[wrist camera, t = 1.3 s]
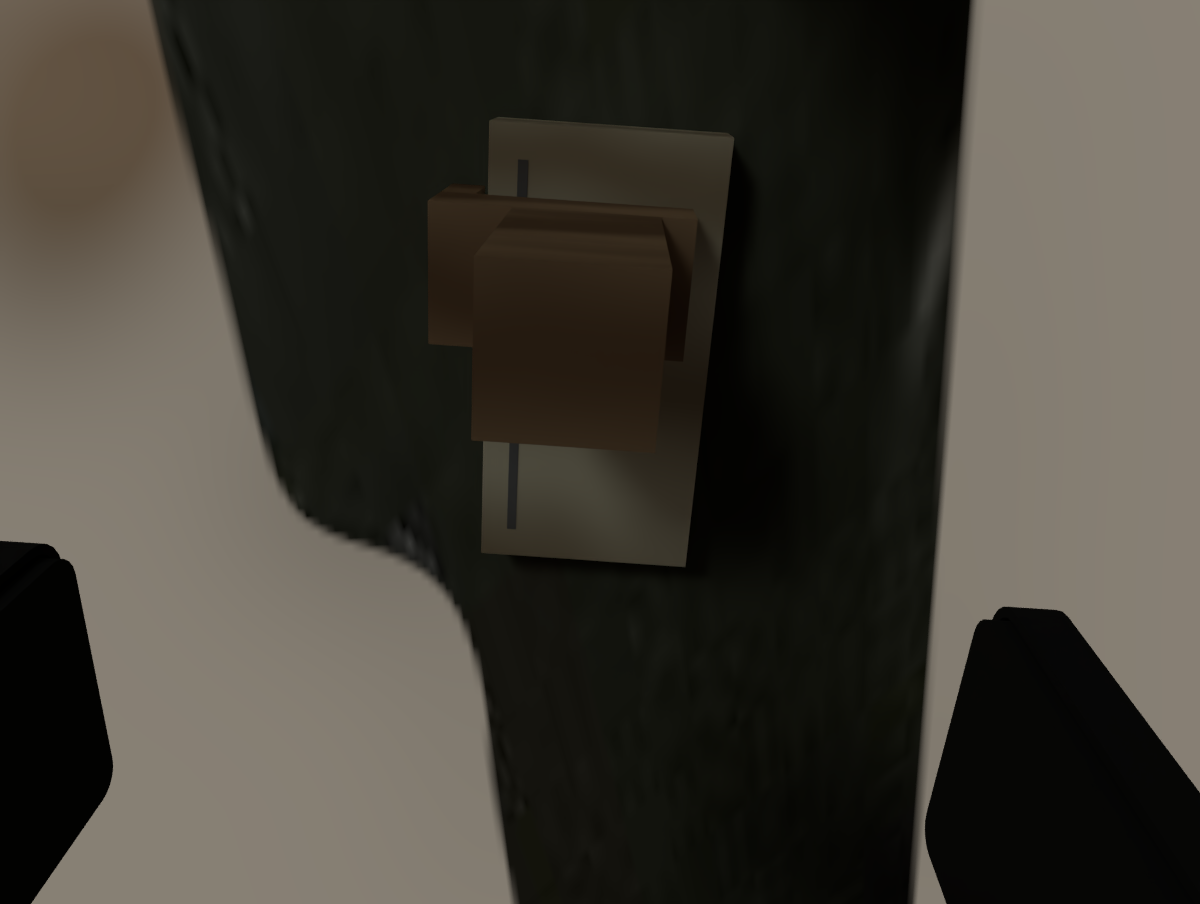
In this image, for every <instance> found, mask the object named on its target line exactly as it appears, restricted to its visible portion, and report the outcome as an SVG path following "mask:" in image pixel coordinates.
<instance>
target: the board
mask: <svg viewBox="0 0 1200 904" xmlns="http://www.w3.org/2000/svg"><path fill="white" fill-rule="evenodd" d="M733 145H734V137H732V136H731V135H729V134H728V133H719V132H705V131H690V130H676V129H662V128H648V127H633V126H619V125H605V124H591V123H577V122H562V121H548V120H534V119H520V118H506V117H497V118H495V119H492V120H490V121H489V170H488V195H500V196H515V197H529V198H543V199H557V200H572V201H586V202H600V203H614V204H628V205H643V206H657V207H671V208H685V209H693V210H694V212H695V215H696V217H697V219H698V223H697V233H696V242H695V252H694V262H693V271H692V281H691V291H690V300H689V310H688V320H687V329H686V339H685V349H684V359H683V362H680V361H666V360H664V365H663V376H662V386H661V397H660V407H659V418H658V428H657V439H656V450H655V453H645V452H631V451H617V450H603V449H588V448H574V447H560V446H546V445H531V444H517V443H503V442H489V441H483V493H482V547H481V553H492V554H506V555H521V556H535V557H549V558H564V559H578V560H592V561H606V562H621V563H635V564H649V565H663V566H678V567H685V565H686V557H687V548H688V539H689V530H690V522H691V513H692V504H693V495H694V486H695V478H696V469H697V460H698V451H699V443H700V434H701V425H702V416H703V408H704V399H705V390H706V381H707V373H708V364H709V355H710V346H711V337H712V329H713V320H714V311H715V302H716V294H717V285H718V276H719V267H720V259H721V250H722V241H723V232H724V223H725V215H726V206H727V197H728V188H729V180H730V171H731V162H732V153H733Z"/></svg>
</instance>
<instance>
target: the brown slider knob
mask: <svg viewBox="0 0 1200 904" xmlns="http://www.w3.org/2000/svg"><path fill="white" fill-rule="evenodd" d="M697 223H698V219H697V217H696V215H695V212H694V210H693V209H685V208H671V207H657V206H643V205H628V204H614V203H600V202H586V201H572V200H557V199H543V198H529V197H515V196H500V195H486V194H485V186H480V185H466V184H451V185H450V186H448V187H447V188H446V189H444V190H443V191H441V192H440V193H438V194H437V195H435V196H434V197H432V198H431V199H430V200H428V320H429V344H438V345H452V346H466V347H473V360H472V435H471V440H474V441H489V442H503V443H517V444H531V445H546V446H560V447H574V448H588V449H603V450H617V451H631V452H645V453H655V450H656V439H657V428H658V418H659V407H660V397H661V386H662V376H663V365H664V360H666V361H680V362H683V359H684V349H685V339H686V329H687V320H688V310H689V300H690V291H691V281H692V271H693V262H694V252H695V242H696V233H697Z"/></svg>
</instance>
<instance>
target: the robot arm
mask: <svg viewBox="0 0 1200 904" xmlns="http://www.w3.org/2000/svg"><path fill="white" fill-rule="evenodd" d="M112 772H113V760H112V754H111V749H110V745H109V739H108V735H107V729H106V724H105V720H104V715H103V709H102V704H101V699H100V695H99V689H98V684H97V679H96V674H95V669H94V664H93V659H92V654H91V649H90V645H89V639H88V634H87V629H86V624H85V619H84V614H83V609H82V604H81V599H80V594H79V589H78V584H77V579H76V574H75V571H74V568H73V566H72V565H71V563H70V562H69V561H67V560H65V559H60V556H59V554H58V553H57V551H56V550H55V549H54V548H53V547H52V546H49V545H48V544H38V543H24V542H8V541H0V904H31V903H32V901H33V900H34V899H35V897H36V896H37V894H38V893H39V891H40V890H41V888H42V887H43V885H44V884H45V883H46V881H47V880H48V878H49V877H50V875H51V874H52V872H53V871H54V870H55V868H56V867H57V865H58V864H59V862H60V861H61V860H62V858H63V857H64V855H65V854H66V852H67V851H68V849H69V848H70V847H71V845H72V844H73V842H74V841H75V839H76V838H77V836H78V835H79V834H80V832H81V831H82V829H83V828H84V826H85V825H86V823H87V822H88V821H89V819H90V818H91V816H92V815H93V813H94V812H95V810H96V809H97V808H98V806H99V805H100V803H101V802H102V800H103V798H104V797H105V795H106V793H107V791H108V788H109V786H110V782H111V778H112ZM925 837H926V845H927V850H928V853H929V856H930V859H931V862H932V865H933V867H934V870H935V873H936V876H937V878H938V881H939V884H940V887H941V889H942V892H943V895H944V898H945V900H946V903H947V904H1200V793H1199V791H1198V790H1197V788H1196V787H1195V786H1194V784H1193V783H1192V782H1191V780H1190V779H1189V778H1188V777H1187V775H1186V774H1185V772H1184V771H1183V770H1182V768H1181V767H1180V766H1179V764H1178V763H1177V762H1176V761H1175V759H1174V758H1173V756H1172V755H1171V754H1170V752H1169V751H1168V750H1167V749H1166V747H1165V746H1164V745H1163V743H1162V742H1161V740H1160V739H1159V738H1158V736H1157V735H1156V734H1155V732H1154V731H1153V730H1152V728H1151V727H1150V726H1149V725H1148V723H1147V722H1146V720H1145V719H1144V718H1143V716H1142V715H1141V714H1140V712H1139V711H1138V710H1137V708H1136V707H1135V706H1134V704H1133V703H1132V702H1131V700H1130V699H1129V698H1128V696H1127V695H1126V694H1125V692H1124V691H1123V690H1122V688H1121V687H1120V686H1119V684H1118V683H1117V682H1116V681H1115V679H1114V678H1113V676H1112V675H1111V674H1110V673H1109V671H1108V670H1107V668H1106V667H1105V666H1104V664H1103V663H1102V662H1101V660H1100V659H1099V658H1098V656H1097V655H1096V654H1095V652H1094V651H1093V650H1092V648H1091V647H1090V646H1089V644H1088V643H1087V642H1086V640H1085V639H1084V638H1083V636H1082V635H1081V634H1080V632H1079V631H1078V630H1077V628H1076V627H1075V626H1074V624H1073V623H1072V621H1071V620H1070V619H1069V618H1068V616H1066V615H1065V614H1064V613H1063V612H1062V611H1057V610H1048V609H1033V608H1017V607H1002V608H1000V609H999V610H998V611H997V612H996V614H995V615H994V617H993V620H982V621H980V622H979V623H978V625H977V627H976V629H975V632H974V635H973V639H972V643H971V646H970V650H969V654H968V658H967V662H966V665H965V669H964V673H963V677H962V681H961V684H960V688H959V692H958V696H957V700H956V704H955V707H954V711H953V715H952V719H951V723H950V726H949V730H948V734H947V738H946V742H945V745H944V749H943V753H942V757H941V761H940V765H939V768H938V772H937V776H936V780H935V783H934V787H933V791H932V795H931V799H930V803H929V806H928V810H927V815H926V820H925Z"/></svg>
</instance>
